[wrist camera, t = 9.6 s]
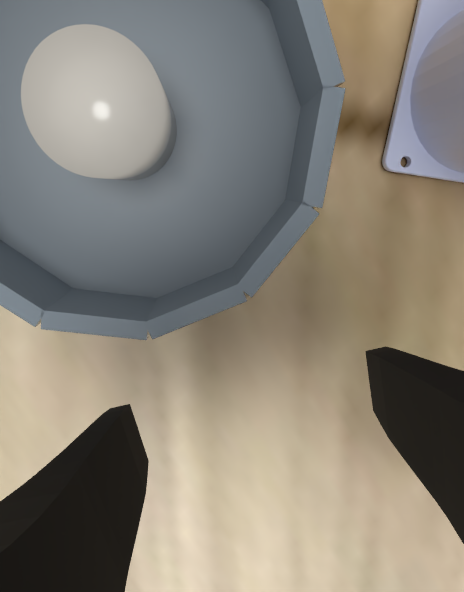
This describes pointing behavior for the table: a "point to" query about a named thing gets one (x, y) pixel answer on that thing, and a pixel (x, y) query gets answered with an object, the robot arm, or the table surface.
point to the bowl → (171, 166)
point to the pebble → (97, 104)
